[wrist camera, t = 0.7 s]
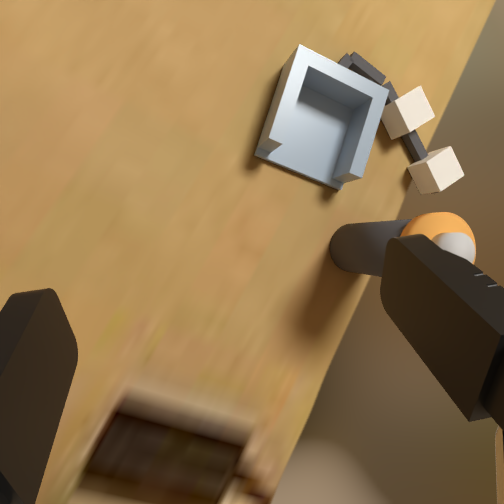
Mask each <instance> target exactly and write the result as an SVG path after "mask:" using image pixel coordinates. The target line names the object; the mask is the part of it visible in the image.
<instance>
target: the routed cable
mask: <svg viewBox="0 0 504 504" xmlns="http://www.w3.org/2000/svg"><path fill="white" fill-rule="evenodd" d="M337 64H339V65H341V66H343V67H345V68H347V69H348V68H350V69H351V70H352V71H354V72H355V73H357V74H359V75H361V76H363V77H365V78H367V79H369V80H370V81H372V82H374V83H376V84H378V85H380V86H381V85H382V84H383V82H384V80H385V78H386V76H385V75H383V74H382V73H381V72H380V71H378V70H377V69H376V68H375V67H373V66H372V65H371V64H370V63H368V62H367V61H366V60H365V59H363V58H362V57H361V56H360V55H358V54H357V53H356V52H353V53H352V54H351V55H350V56H349V55H348V54H347V53H346V54H345V55H344V56H343V57H342V58H341V60H340V61H339V62H338V63H337ZM382 87H384V88H386V89H388V90H389V93H388V96H387V99H386V102H385V106H384V109H383V112H382V115H381V120H382V122H383V124H384V126H385V128H386V130H387V132H388V134H389V136H390V138H391V140H393V139H395V138H397V137H400V136H401V137H402V138H403V140H404V142H405V144H406V146H407V148H408V150H409V152H410V154H411V156H412V158H413V159H414V161H415V162H414V163H413V164H411V165H410V166H408V167H407V168H408V170H409V172H410V174H411V176H412V178H413V181H414V182H415V185H416V186H417V189H418V191H419V193H420V194H421V195H422V194H428V193H437V192H440V191H442V190H444V189H445V188H446V187H448V186H449V185H451V184H452V183H454V182H455V181H457V180H458V179H459V178H461V177H462V176H464V173H463V171H462V169H461V167H460V165H459V163H458V161H457V158H456V156H455V154H454V152H453V150H452V148H451V146H449V147H445V148H442V149H439V150H436V151H433V152H430V153H428V154H427V152H426V150H425V148H424V146H423V144H422V142H421V140H420V138H419V136H418V134H417V132H416V130H415V129H416V128H418V127H419V126H421V125H422V124H424V123H426V122H427V121H429V120H430V119H432V118H434V117H435V116H434V113H433V111H432V109H431V107H430V105H429V103H428V100H427V98H426V96H425V94H424V92H423V90H422V88H421V85H420V86H419V87H417V88H415V89H413V90H412V91H410V92H408V93H406V94H405V95H403V96H401V97H398V96H397V94H396V92H395V90H394V88H393V86H392V84H391V82H390V81H389V82H388V83H386V84H384V85H383V86H382Z"/></svg>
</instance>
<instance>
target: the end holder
mask: <svg viewBox="0 0 504 504" xmlns="http://www.w3.org/2000/svg"><path fill="white" fill-rule="evenodd" d="M388 93H389V90H388V89H386V88H384V87H382V86H380V85H378V84H376V83H374V82H372V81H370V80H369V79H367V78H365V77H363V76H361V75H359V74H357V73H355V72H353V71H351V70H349V69H347V68H345V67H343V66H341V65H339V64H337V63H335V62H333V61H331V60H330V59H328V58H326V57H324V56H322V55H320V54H318V53H316V52H314V51H312V50H310V49H308V48H306V47H304V46H302V45H300V44H299V45H298V47H297V48H296V49H295V51H294V52H293V53H292V55H291V56H290V57H289V59H288V60H287V61H286V63H285V64H284V66H283V69H282V72H281V75H280V78H279V81H278V84H277V87H276V90H275V93H274V96H273V99H272V102H271V105H270V108H269V111H268V115H267V118H266V121H265V124H264V127H263V130H262V133H261V136H260V139H259V142H258V145H257V148H256V151H255V154H254V156H257V157H259V158H262V159H264V160H267V161H269V162H271V163H274V164H276V165H279V166H281V167H284V168H286V169H288V170H291V171H293V172H296V173H298V174H301V175H303V176H305V177H308V178H310V179H313V180H315V181H318V182H320V183H322V184H325V185H327V186H330V187H332V188H335V189H337V190H342V187H343V184H344V183H346V182H350V181H353V180H357V179H360V178H362V176H363V173H364V170H365V166H366V163H367V160H368V157H369V154H370V150H371V147H372V144H373V141H374V138H375V134H376V131H377V128H378V125H379V122H380V118H381V115H382V112H383V109H384V106H385V102H386V99H387V96H388Z"/></svg>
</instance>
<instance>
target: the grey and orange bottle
mask: <svg viewBox="0 0 504 504" xmlns="http://www.w3.org/2000/svg"><path fill="white" fill-rule="evenodd" d="M414 234H423V235H425V236H427V237H428V238H429V239H430V240H431V241H433V242H434V243H435V244H436V245H438V246H439V247H440V248H441V249H443V250H447V251H449V252H451V253H453V254H456V255H458V256H460V257H462V258H465V259H467V260H468V261H469V262H471V263H472V264H473V265H474V262H475V256H476V245H475V239H474V236H473V233H472V231H471V229H470V227H469V226H468V224H467V223H466V222H465V221H464V220H463V219H461V218H460V217H459V216H457V215H455V214H452V213H449V212H438V213H428V214H422V215H419V216H417V217H416V218H414V219H408V220H394V221H381V222H368V223H355V224H346V225H344V226H342V227H340V228H339V229H338V230H337V231H336V232H335V233H334V235H333V237H332V239H331V243H330V253H331V257H332V259H333V261H334V263H335V264H336V265H337V266H338V267H339V268H341V269H342V270H345V271H349V272H355V273H361V274H367V275H373V276H379V277H382V272H383V265H384V258H385V250H386V245H387V242H388V241H389V239H391V238H394V237H401V236H408V235H414Z"/></svg>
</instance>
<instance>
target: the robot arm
mask: <svg viewBox="0 0 504 504" xmlns="http://www.w3.org/2000/svg"><path fill="white" fill-rule="evenodd" d="M380 294H381V300H382V304H383V307H384V309H385V311H386V312H387V314H388V315H389V316H390V318H391V319H392V320H393V322H394V323H395V324H396V326H397V327H398V328H399V330H400V331H401V332H402V334H403V335H404V336H405V338H406V339H407V340H408V342H409V343H410V344H411V346H412V347H413V348H414V350H415V351H416V352H417V354H418V355H419V356H420V358H421V359H422V360H423V362H424V363H425V364H426V365H427V367H428V368H429V370H430V371H431V372H432V374H433V375H434V376H435V377H436V379H437V380H438V381H439V383H440V384H441V385H442V387H443V388H444V389H445V391H446V392H447V393H448V395H449V396H450V397H451V399H452V400H453V401H454V403H455V404H456V405H457V406H458V408H459V409H460V411H461V412H462V413H463V415H464V416H465V417H466V418H467V420H468V421H469V422H471V421H475V420H480V419H485V418H489V417H492V418H493V419H494V420H495V422H496V423H497V424H498V425H499V426H498V429H497V431H496V434H495V449H496V479H497V504H504V288H503V287H501V286H497V283H496V282H495V281H494V280H492V279H491V278H490V277H489V276H487V275H483V272H482V271H481V270H480V269H478V268H477V267H476V266H475V265H473V264H472V263H471V262H469V261H468V260H467V259H465V258H462V257H460V256H458V255H456V254H453V253H451V252H449V251H447V250H443V249H441V248H440V247H439V246H438V245H436V244H435V243H434V242H433V241H431V240H430V239H429V238H428V237H427V236H425V235H423V234H414V235H408V236H401V237H394V238H391V239H389V241H388V242H387V245H386V250H385V258H384V265H383V272H382V280H381V287H380ZM77 361H78V348H77V342H76V339H75V336H74V334H73V331H72V329H71V327H70V324H69V322H68V319H67V317H66V315H65V312H64V310H63V307H62V305H61V303H60V300H59V298H58V296H57V294H56V292H55V291H54V290H53V289H51V288H47V289H41V290H34V291H27V292H21V293H15V294H12V295H11V296H10V297H9V299H8V301H7V302H6V304H5V305H4V307H3V308H2V310H1V311H0V504H35V502H36V498H37V495H38V492H39V488H40V485H41V482H42V478H43V475H44V472H45V468H46V465H47V462H48V459H49V455H50V452H51V449H52V445H53V442H54V439H55V435H56V432H57V429H58V426H59V422H60V419H61V416H62V412H63V409H64V406H65V402H66V399H67V396H68V393H69V389H70V386H71V383H72V379H73V376H74V373H75V369H76V366H77Z"/></svg>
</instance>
